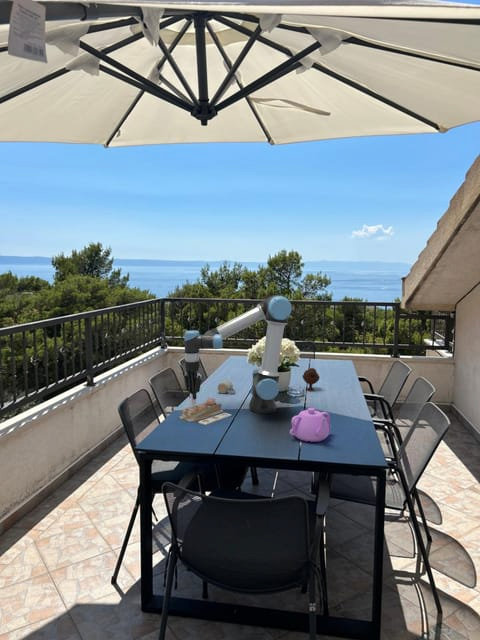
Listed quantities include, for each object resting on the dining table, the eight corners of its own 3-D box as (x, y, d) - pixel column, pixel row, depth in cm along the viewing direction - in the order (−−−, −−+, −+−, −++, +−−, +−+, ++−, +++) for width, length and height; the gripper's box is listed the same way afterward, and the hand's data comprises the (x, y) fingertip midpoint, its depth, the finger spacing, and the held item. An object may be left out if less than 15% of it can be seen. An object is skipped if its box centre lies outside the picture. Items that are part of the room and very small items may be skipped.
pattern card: (231, 415, 246) (231, 414, 246) (205, 424, 231) (205, 423, 231) (224, 413, 249) (224, 412, 249) (198, 422, 234) (198, 421, 234)
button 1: (198, 414, 241) (198, 408, 241) (192, 416, 238) (192, 410, 237) (192, 413, 244) (192, 406, 244) (185, 415, 241) (185, 408, 240)
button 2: (216, 405, 251) (216, 399, 251) (210, 407, 248) (210, 401, 248) (210, 404, 254) (210, 397, 254) (204, 405, 251) (204, 399, 251)
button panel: (223, 412, 252) (223, 404, 251) (192, 422, 234) (192, 413, 234) (209, 408, 258) (209, 400, 258) (179, 418, 241) (179, 409, 240)
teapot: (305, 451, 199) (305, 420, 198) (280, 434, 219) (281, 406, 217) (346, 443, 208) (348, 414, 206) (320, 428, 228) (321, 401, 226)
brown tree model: (321, 389, 302) (322, 367, 300) (314, 393, 292) (315, 370, 291) (306, 387, 307) (307, 365, 306) (299, 390, 298) (300, 368, 296)
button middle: (207, 411, 246) (207, 405, 246) (201, 413, 243) (201, 407, 242) (201, 410, 249) (201, 403, 249) (195, 412, 246) (195, 405, 245)
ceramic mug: (216, 393, 289) (217, 381, 288) (222, 390, 297) (222, 378, 296) (232, 395, 285) (232, 383, 284) (237, 392, 293) (237, 380, 292)
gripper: (206, 361, 236) (206, 405, 239) (188, 358, 245) (189, 401, 247) (195, 363, 231) (196, 409, 233) (178, 360, 239) (179, 404, 242)
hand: (193, 405), depth 240 cm, fingers closed
